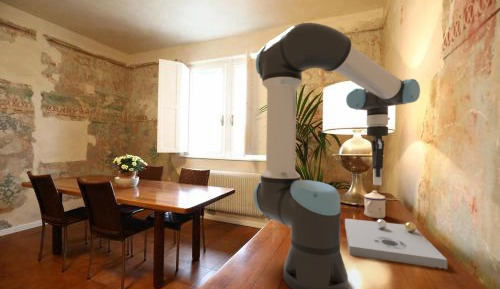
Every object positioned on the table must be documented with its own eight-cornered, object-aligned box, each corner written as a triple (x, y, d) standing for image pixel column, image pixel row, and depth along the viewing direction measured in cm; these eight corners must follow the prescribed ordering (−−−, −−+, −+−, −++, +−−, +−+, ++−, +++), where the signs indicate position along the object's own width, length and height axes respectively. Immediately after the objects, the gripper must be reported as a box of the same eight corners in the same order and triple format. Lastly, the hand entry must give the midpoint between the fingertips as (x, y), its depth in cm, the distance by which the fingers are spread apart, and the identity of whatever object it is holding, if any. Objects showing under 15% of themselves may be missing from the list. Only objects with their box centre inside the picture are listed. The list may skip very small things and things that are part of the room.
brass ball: (417, 234, 79) (417, 224, 79) (406, 233, 80) (406, 223, 80) (414, 230, 82) (414, 221, 82) (403, 229, 84) (403, 220, 84)
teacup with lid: (368, 211, 115) (369, 188, 115) (389, 216, 108) (389, 191, 108) (357, 216, 107) (357, 191, 107) (377, 221, 100) (378, 194, 100)
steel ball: (387, 230, 82) (387, 221, 82) (377, 229, 83) (377, 220, 83) (385, 227, 85) (385, 218, 85) (375, 226, 87) (375, 217, 87)
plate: (447, 269, 61) (447, 259, 61) (349, 254, 70) (349, 246, 70) (412, 232, 88) (412, 225, 88) (344, 224, 96) (344, 218, 96)
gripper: (391, 124, 86) (391, 188, 86) (384, 127, 98) (384, 182, 98) (369, 125, 88) (369, 187, 88) (364, 127, 100) (364, 181, 100)
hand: (377, 184), depth 93 cm, fingers closed
